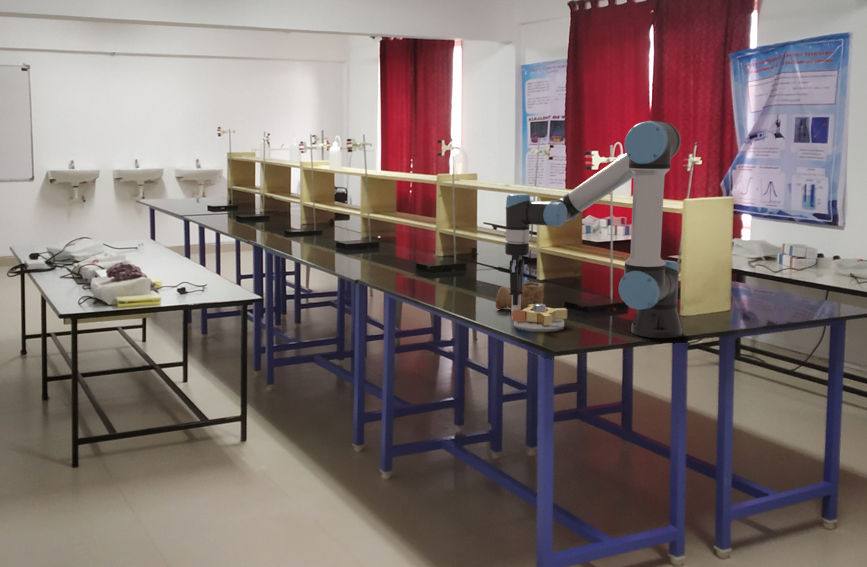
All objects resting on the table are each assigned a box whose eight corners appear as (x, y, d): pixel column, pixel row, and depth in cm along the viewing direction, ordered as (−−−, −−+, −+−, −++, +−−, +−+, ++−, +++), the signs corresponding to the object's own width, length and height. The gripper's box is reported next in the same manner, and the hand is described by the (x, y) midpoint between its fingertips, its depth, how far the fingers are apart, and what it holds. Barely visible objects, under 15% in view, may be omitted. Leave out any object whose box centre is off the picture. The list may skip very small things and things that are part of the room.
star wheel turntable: (515, 320, 283) (516, 299, 282) (564, 321, 280) (564, 300, 279) (512, 331, 267) (512, 309, 266) (563, 333, 265) (564, 311, 263)
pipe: (501, 306, 304) (502, 279, 302) (546, 310, 298) (546, 282, 296) (494, 311, 296) (494, 283, 294) (539, 315, 290) (540, 286, 288)
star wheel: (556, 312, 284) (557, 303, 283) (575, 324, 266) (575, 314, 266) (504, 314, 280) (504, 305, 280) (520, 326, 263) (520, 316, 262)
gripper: (509, 239, 278) (508, 309, 283) (501, 244, 266) (500, 317, 270) (532, 240, 276) (530, 310, 281) (525, 245, 264) (523, 319, 268)
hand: (515, 314), depth 276 cm, fingers closed
